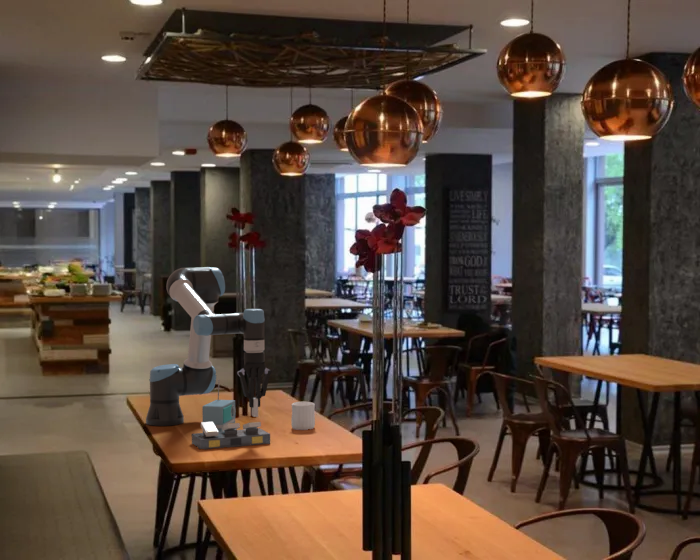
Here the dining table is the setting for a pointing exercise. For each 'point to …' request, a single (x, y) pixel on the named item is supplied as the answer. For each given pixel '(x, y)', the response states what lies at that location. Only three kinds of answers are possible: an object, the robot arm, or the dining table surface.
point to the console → (231, 438)
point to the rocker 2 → (231, 426)
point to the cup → (303, 415)
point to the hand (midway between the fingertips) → (254, 416)
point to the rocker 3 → (251, 425)
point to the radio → (219, 412)
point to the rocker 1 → (209, 429)
